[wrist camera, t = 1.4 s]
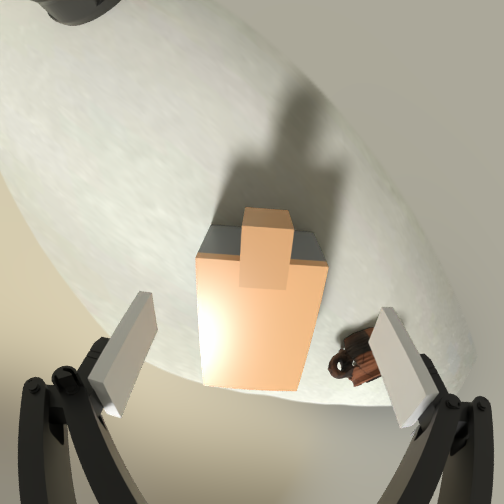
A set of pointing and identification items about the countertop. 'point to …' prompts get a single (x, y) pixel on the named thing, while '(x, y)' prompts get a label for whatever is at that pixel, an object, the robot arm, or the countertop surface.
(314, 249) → the tub
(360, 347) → the brown jagged ring
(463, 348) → the countertop surface
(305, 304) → the lid
